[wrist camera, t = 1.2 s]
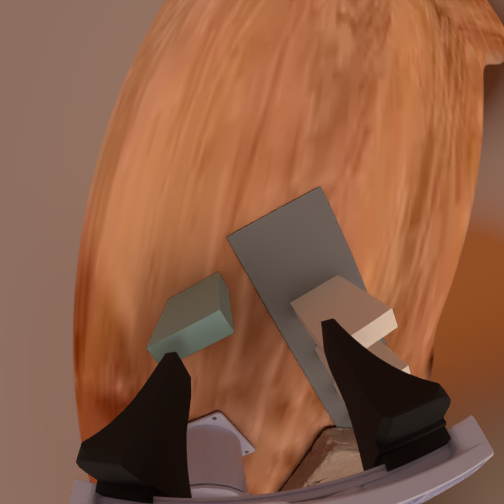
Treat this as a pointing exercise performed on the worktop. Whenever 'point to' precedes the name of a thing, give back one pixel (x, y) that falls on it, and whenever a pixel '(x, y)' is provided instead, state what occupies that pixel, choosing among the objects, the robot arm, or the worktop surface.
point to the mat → (298, 277)
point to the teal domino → (193, 319)
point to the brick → (328, 460)
